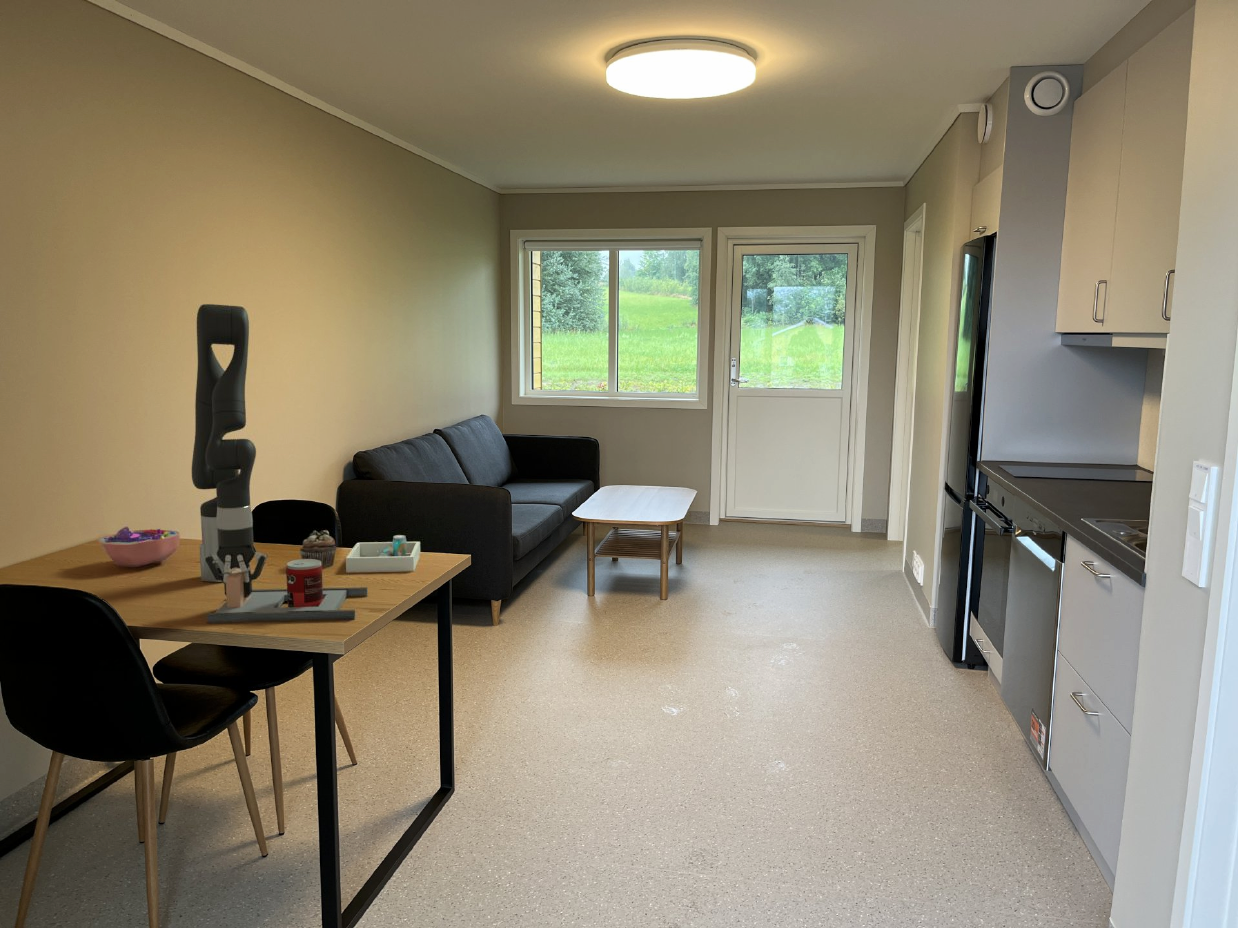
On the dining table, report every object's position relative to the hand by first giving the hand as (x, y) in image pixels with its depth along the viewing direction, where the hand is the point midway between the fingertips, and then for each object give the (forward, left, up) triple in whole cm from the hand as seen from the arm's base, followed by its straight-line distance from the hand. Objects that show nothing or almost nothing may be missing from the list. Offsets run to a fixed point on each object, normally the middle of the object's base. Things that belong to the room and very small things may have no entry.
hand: (238, 596), depth 205 cm
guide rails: (+12, 0, -3) cm, 12 cm away
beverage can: (+30, +40, -4) cm, 50 cm away
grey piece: (+10, 0, -3) cm, 11 cm away
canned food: (+15, 0, -3) cm, 15 cm away
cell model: (-38, +43, -3) cm, 58 cm away
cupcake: (+10, +39, -3) cm, 40 cm away
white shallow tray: (+28, +40, -3) cm, 49 cm away
